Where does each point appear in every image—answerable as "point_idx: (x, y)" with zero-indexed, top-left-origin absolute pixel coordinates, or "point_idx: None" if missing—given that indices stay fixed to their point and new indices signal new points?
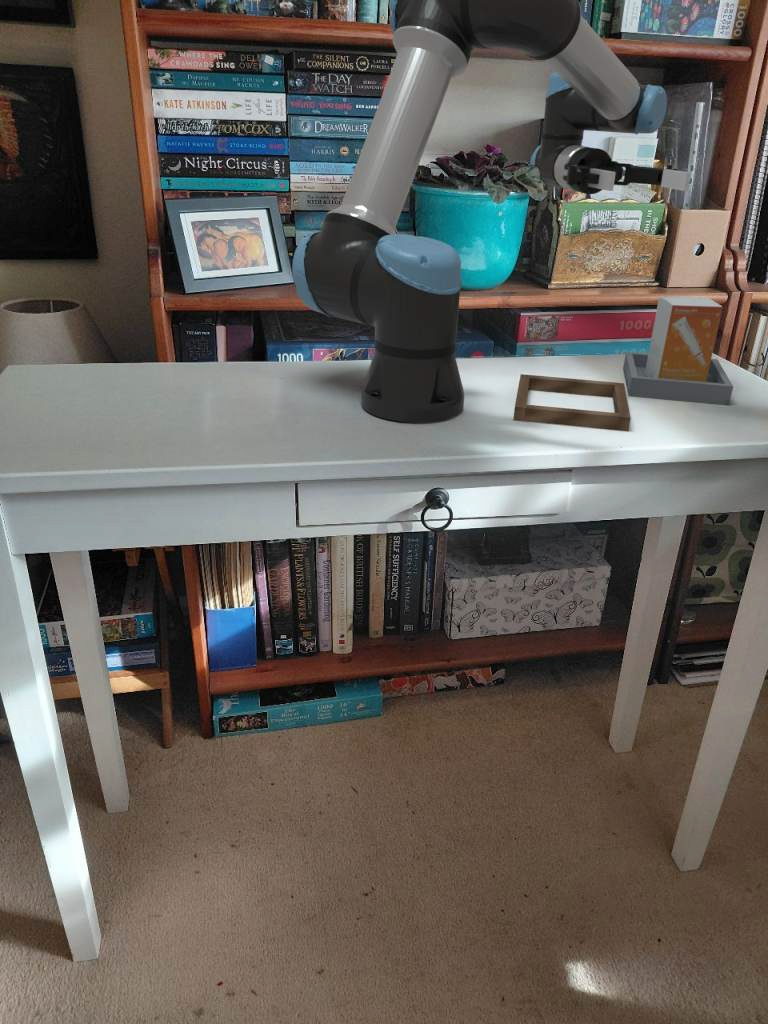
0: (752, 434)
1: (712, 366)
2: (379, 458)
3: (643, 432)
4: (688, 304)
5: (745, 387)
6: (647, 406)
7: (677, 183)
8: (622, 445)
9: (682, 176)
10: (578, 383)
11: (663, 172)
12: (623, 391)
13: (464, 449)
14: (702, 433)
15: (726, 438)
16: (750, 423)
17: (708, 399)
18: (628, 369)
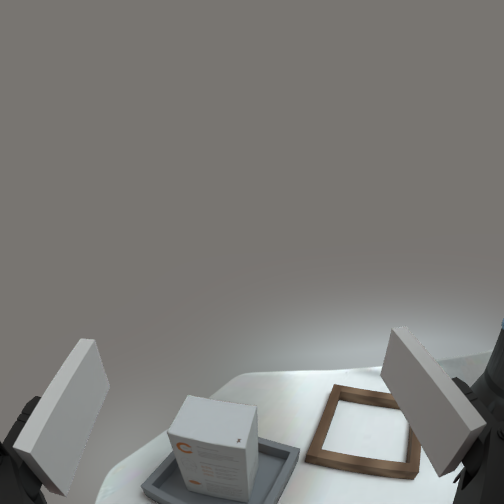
0: (233, 382)
1: (157, 481)
2: (479, 354)
3: (320, 391)
4: (231, 405)
5: (142, 461)
6: (290, 436)
7: (90, 401)
8: (344, 374)
9: (90, 365)
10: (357, 457)
11: (38, 460)
12: (317, 433)
13: (443, 366)
14: (273, 387)
15: (259, 379)
16: (218, 397)
17: None
18: (282, 486)
